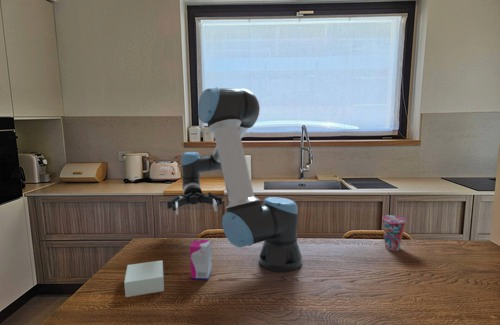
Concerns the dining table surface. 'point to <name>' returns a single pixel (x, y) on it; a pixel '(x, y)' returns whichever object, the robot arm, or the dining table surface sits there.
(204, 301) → the dining table surface
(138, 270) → the base block
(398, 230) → the cup
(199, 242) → the supplement box
